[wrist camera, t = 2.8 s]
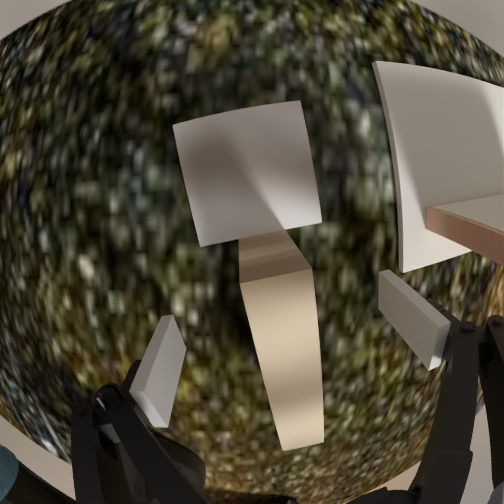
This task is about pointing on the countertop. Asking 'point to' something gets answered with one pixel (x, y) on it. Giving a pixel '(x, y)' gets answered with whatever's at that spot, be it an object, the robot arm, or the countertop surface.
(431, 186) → the mat
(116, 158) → the countertop surface
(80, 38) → the countertop surface
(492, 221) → the tile
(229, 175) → the scraper
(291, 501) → the decorative flower
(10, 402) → the countertop surface
